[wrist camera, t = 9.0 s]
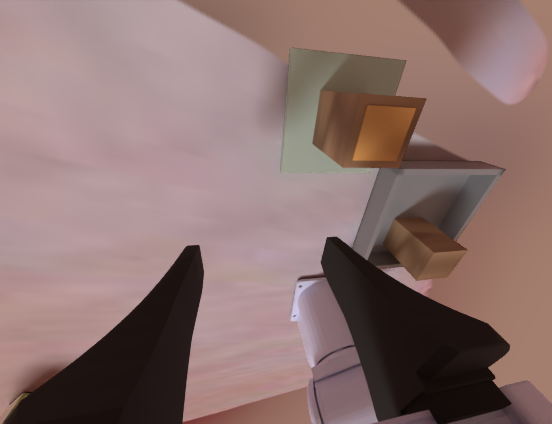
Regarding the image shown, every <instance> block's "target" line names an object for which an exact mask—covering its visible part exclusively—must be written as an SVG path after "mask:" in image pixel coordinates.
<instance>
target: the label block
mask: <svg viewBox="0 0 552 424" xmlns="http://www.w3.org/2000/svg"><path fill="white" fill-rule="evenodd" d="M425 101H426V99H425V98H413V97H401V96H388V95H375V94H363V93H349V92H336V91H323V90H320V96H319V103H318V109H317V116H316V122H315V129H314V135H313V142H312V144H313V145H314V146H316V147H317V148H318V149H319V150H321V151H322V152H323V153H324V154H326V155H327V156H328V157H330V158H331V159H332V160H333V161H335V162H336V163H337V164H338V165H340V166H341V167H342V168H399V167H400V164H401V162H402V159H403V157H404V154H405V152H406V149H407V147H408V144H409V142H410V139H411V137H412V134H413V132H414V129H415V126H416V124H417V121H418V119H419V116H420V114H421V111H422V109H423V106H424V104H425Z"/></svg>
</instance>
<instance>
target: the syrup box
mask: <svg viewBox="0 0 552 424" xmlns="http://www.w3.org/2000/svg"><path fill="white" fill-rule="evenodd" d="M29 394H31V393H22V394H21V395H20V396H19V397H18V398H17V399H16V400H15V401H13V402H12V403H11V404H10V405H9V406H8V407H7V408H6V410H5V411H4V413H3V414H2V415H1V417H0V424H4V423H5V422H6V420H7V419H8V417H9V416H10V414H11V413H12V412H13V410H14V409H15V408H16V406H17V405H18V404H19V402H20V401H21V400H22V399H24V398H25V397H26V396H28V395H29Z"/></svg>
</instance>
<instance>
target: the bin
mask: <svg viewBox="0 0 552 424" xmlns="http://www.w3.org/2000/svg"><path fill="white" fill-rule="evenodd" d="M504 171H505V169H503V168H500V167H497V166H494V165H491V164H487V163H484V162H481V161H408V160H402V162H401V164H400V167H399V168H380V169H379V172H378V175H377V178H376V181H375V184H374V187H373V190H372V192H371V195H370V198H369V201H368V204H367V207H366V210H365V213H364V216H363V218H362V221H361V224H360V227H359V230H358V233H357V236H356V239H355V241H354V244H353V247H352V249H353V250H354V251H356V252H357V253H358V254H360V255H361V256H362V257H364V258H365V259H366V260H367V261H369V262H370V263H372V264H373V265H374V266H376V267H377V268H379V269H385V268H395V267H404V266H403V265H402V264H401V263H400V262H399V261H398V260H397V259H396V258H395V257H394V256H393V255H392V253H391V252H390V251H389V250H388V249H387V248H386V247H385V246H384V245H383V242H384V240H385V237H386V235H387V233H388V231H389V228H390V226H391V224H392V222H393V219H395V218H416V217H422V218H424V219H425V220H427V221H428V222H429V223H431V224H432V225H434V226H435V227H436V228H438V229H439V230H441V231H442V232H443V233H445V234H446V235H448V236H449V237H450V238H452V239H453V240H455V241H457V239H458V238H459V237H460V235H461V234H462V232H463V231H464V229H465V228H466V226H467V225H468V223H469V222H470V220H471V219H472V218H473V216H474V215H475V213H476V212H477V210H478V209H479V207H480V206H481V205H482V203H483V202H484V200H485V198H486V197H487V196H488V194H489V193H490V191H491V190H492V189H493V187H494V186H495V184H496V183H497V181H498V180H499V178H500V177H501V175H502V174H503V172H504Z"/></svg>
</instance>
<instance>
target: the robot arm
mask: <svg viewBox="0 0 552 424" xmlns="http://www.w3.org/2000/svg"><path fill="white" fill-rule="evenodd" d="M321 265H322V268H323V271H324V274H325V277H322V278H311V279H301V280H298V281H297V284H296V289H295V295H294V301H293V306H292V312H291V317H290V318H291V321H297V322H298V326H299V330H300V334H301V337H302V341H303V345H304V349H305V353H306V356H307V360H308V362H309V364H310V366H311V367H312V368H311V370H312V373H313V377H314V378H311V379H310V380H309V384H308V388H307V401H308V408H309V412H310V417H311V421H312V424H552V403H551V402H550V401H549V400H548V399H547V398H546V397H545V396H544V395H543V394H542V393H541V392H540V391H539V390H538V389H537V388H536V387H535V386H534V385H533V384H532V383H531V382H529V381H522V382H518V383H514V384H509V385H506V386H503V387H500V388H498V387H497V386H496V384H495V383H494V382H493V381H492V380H494V379H495V376H494V374H493V373H492V372H491V371H490V370H489V369H488V367H489V366H491V365H492V364H493V363H495V362H496V361H498V360H499V359H500V358H502V357H503V356H504V355H505V354H506V353H507V352H508V351H509V349H510V345H509V344H508V343H507V342H506V341H505V340H504V339H503V338H502V337H501V336H500V335H499V334H498V333H497V332H496V331H495V330H494V329H493V328H492V327H491V326H490V325H489V324H487V323H485V322H483V321H480V320H478V319H475V318H473V317H470V316H468V315H465V314H463V313H460V312H458V311H456V310H453V309H451V308H449V307H447V306H445V305H442V304H440V303H438V302H436V301H434V300H432V299H429V298H428V297H426V296H424V295H422V294H420V293H418V292H416V291H414V290H412V289H411V288H409V287H407V286H405V285H404V284H402V283H400V282H399V281H397V280H395V279H394V278H392V277H391V276H389V275H387V274H386V273H384V272H383V271H382V270H380V269H379V268H377V267H376V266H374V265H373V264H372V263H370V262H369V261H367V260H366V259H365V258H364V257H362V256H361V255H360V254H358V253H357V252H356V251H354V250H353V249H352V248H351V247H349V246H348V245H347V244H346V243H344V242H343V241H342V240H340V239H339V238H338V237H327V239H326V243H325V247H324V251H323V255H322V259H321ZM203 278H204V269H203V263H202V258H201V252H200V246H199V245H192V246H186V247H185V249H184V250H183V251H182V253H181V254H180V256H179V257H178V258H177V260H176V261H175V263H174V264H173V265H172V267H171V268H170V269H169V270H168V272H167V273H166V274H165V275H164V277H163V278H162V279H161V280H160V281H159V283H158V284H157V285H156V286H155V287H154V288H153V289H152V291H151V292H150V293H149V294H148V295H147V296H146V297H145V298H144V299H143V300H142V302H141V303H140V304H139V305H138V306H137V307H136V308H135V309H134V310H133V311H132V312H131V313H130V314H129V315H128V316H126V317H125V318H124V319H123V320H122V321H121V322H120V323H119V324H118V325H117V326H116V327H115V328H113V329H112V330H111V331H110V332H109V333H108V334H107V335H106V336H104V337H103V338H102V339H101V340H100V341H98V342H97V343H96V344H95V345H94V346H92V347H91V348H90V349H89V350H87V351H86V352H85V353H84V354H83V355H81V356H80V357H79V358H78V359H76V360H75V361H74V362H73V363H71V364H70V365H69V366H67V367H66V368H65V369H63V370H62V371H61V372H59V373H58V374H57V375H55V376H54V377H53V378H51V379H50V380H48V381H47V382H46V383H44V384H43V385H42V386H40V387H39V388H38V389H36V390H35V391H33V392H32V393H31V394H29V395H28V396H26V397H25V398H24V399H22V400H21V401H20V402H19V404H18V405H17V406H16V408H15V409H14V410H13V412H12V413H11V414H10V416H9V417H8V419H7V420H6V422H5V423H4V424H182V421H183V410H184V400H185V390H186V381H187V373H188V364H189V356H190V348H191V341H192V335H193V330H194V326H195V321H196V317H197V312H198V308H199V303H200V298H201V294H202V288H203Z"/></svg>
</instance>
